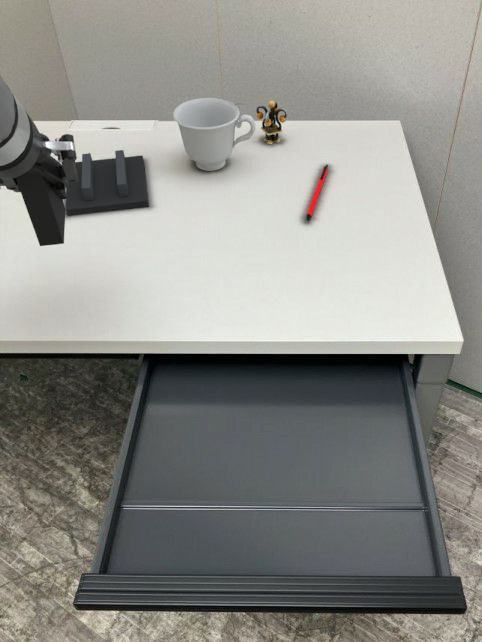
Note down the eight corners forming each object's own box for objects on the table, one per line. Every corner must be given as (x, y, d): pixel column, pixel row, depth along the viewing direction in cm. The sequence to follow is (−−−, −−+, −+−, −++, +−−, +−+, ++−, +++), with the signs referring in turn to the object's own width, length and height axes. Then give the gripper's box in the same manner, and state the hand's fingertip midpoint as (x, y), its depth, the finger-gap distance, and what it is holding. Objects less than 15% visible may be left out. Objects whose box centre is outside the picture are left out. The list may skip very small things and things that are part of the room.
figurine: (254, 136, 121) (255, 97, 114) (275, 131, 122) (277, 92, 116) (265, 148, 118) (266, 109, 112) (286, 143, 120) (289, 104, 114)
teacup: (251, 183, 109) (249, 131, 102) (172, 177, 111) (165, 125, 103) (260, 151, 117) (259, 100, 110) (187, 146, 118) (181, 95, 111)
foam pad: (40, 246, 77) (12, 168, 68) (43, 211, 82) (17, 135, 73) (64, 243, 77) (38, 165, 69) (65, 209, 82) (42, 132, 74)
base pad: (67, 215, 102) (61, 196, 100) (69, 168, 113) (64, 150, 110) (148, 206, 104) (145, 187, 101) (143, 161, 115) (140, 142, 112)
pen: (329, 167, 113) (329, 162, 112) (309, 224, 101) (309, 218, 100) (324, 167, 113) (325, 161, 112) (304, 223, 101) (304, 218, 100)
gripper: (-93, 177, 55) (-10, 225, 79) (83, 161, 58) (113, 212, 81) (-108, 95, 55) (-20, 168, 78) (70, 82, 57) (104, 156, 80)
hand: (47, 190), depth 79 cm, fingers closed on foam pad, 3 cm apart
